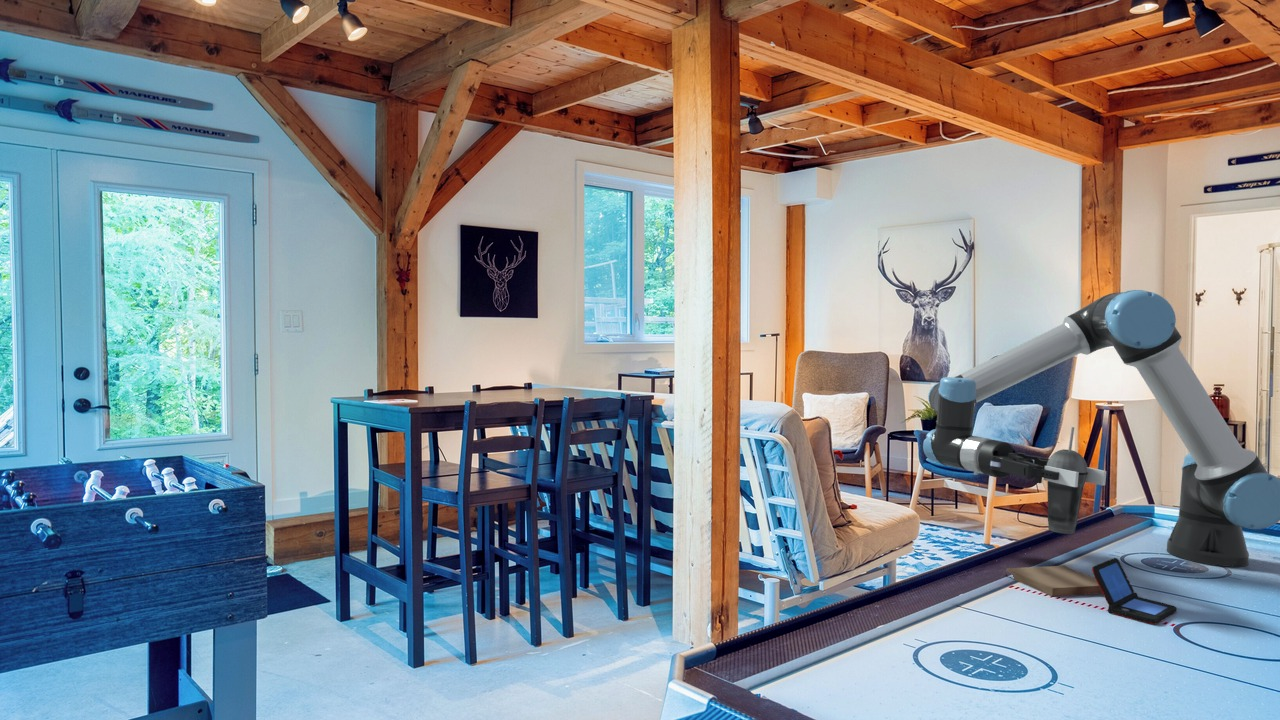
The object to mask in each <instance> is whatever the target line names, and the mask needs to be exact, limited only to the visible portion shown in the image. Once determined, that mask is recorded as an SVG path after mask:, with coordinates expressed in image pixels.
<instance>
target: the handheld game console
mask: <svg viewBox="0 0 1280 720" xmlns="http://www.w3.org/2000/svg"><path fill="white" fill-rule="evenodd" d="M1091 572H1092V574H1093V577H1094V578H1095V579H1096V581H1097V583H1098V585H1099V587H1100V589H1101V591H1102V596H1104V598H1105V601H1106V603H1107V604H1108V608H1107V612H1108V613H1109V614H1111V615H1116V616H1120V617H1122V618H1125V619H1126V618H1127V619H1130V620H1134V621H1138V622H1142V623H1145V624H1148V625H1157V624H1159V623H1160V622H1161V623H1162V621H1164V620H1166V619H1167V618H1169V617H1170V616H1172V615H1174V614H1176V612H1177V611H1178V607H1177V606H1175V605H1173V604H1168V603H1164V602H1162V601H1157V600H1153V599H1149V598H1145V597H1141V596H1138V592H1135V591H1134V590H1135V589H1134V588H1133V586H1132V585H1131V581H1130V580H1129V579H1128V576H1127V574H1126V572H1125V570H1124V568H1123V566H1122V563H1121V562H1120V560H1119V559H1118V558H1116V557H1113V558H1111V559H1109V560H1106V561H1103V562H1101V563H1098V564H1095V565H1093V566H1092V568H1091Z"/></svg>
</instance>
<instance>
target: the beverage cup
mask: <svg viewBox="0 0 1280 720" xmlns="http://www.w3.org/2000/svg"><path fill="white" fill-rule="evenodd" d="M1074 434H1075V427H1074V426H1071V429H1070V436H1069V445H1068V449H1065V448H1064V449H1063V448H1062V449H1059V450H1056V451H1055V452H1054V453H1052V454H1051V455H1050V457H1049V458H1048V459H1049V460H1048V462H1047V466H1051V467H1055V468H1060V469H1065V470H1070V471H1074V472H1079V476H1078V487H1072V486H1067V485H1063V484H1058V483H1054V482H1050V481H1047V522H1048V523H1047V524H1048V531H1051V532H1054V533H1057V534H1065V535H1073V534H1075V533H1076V527H1077V525H1078V524H1077V523H1078V519H1079V512H1080V508H1081V501H1082V496H1083V490H1084V486H1085V483H1086V482H1085V481H1086V478H1087V475H1088V472H1087V467H1088V465H1087V461H1086V460H1085V458H1084V457H1083V456H1082V455H1081V454H1080V453H1079V452H1077V451H1075V450H1072V447H1073V441H1074Z"/></svg>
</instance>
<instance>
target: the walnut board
mask: <svg viewBox="0 0 1280 720" xmlns="http://www.w3.org/2000/svg"><path fill="white" fill-rule="evenodd" d="M1006 571H1007V572H1009V573H1011V574H1012V575H1013V577H1014V579H1015V581H1016V582H1019V583H1022V584H1023V585H1026V586H1028V587H1029V588H1032V589H1035V590H1036V591H1039V592H1041V593H1044V594H1046V595H1048V596H1050V597H1062V596H1063V597H1065V596H1066V597H1067V596H1080V595H1081V596H1082V595H1097V594H1098V595H1099V594H1102V595H1103V593H1102V591H1101V589H1100V587H1099V585H1098V583H1097V581H1096V579H1095V576H1092V575H1090V574H1087V573H1083V572H1081V571H1079V570H1076V569H1073V568H1070V567H1068V566H1066V565H1050V566H1026V567H1007V568H1006V569H1005V572H1006ZM1014 579H1013V580H1014Z"/></svg>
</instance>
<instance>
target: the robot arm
mask: <svg viewBox="0 0 1280 720" xmlns="http://www.w3.org/2000/svg"><path fill="white" fill-rule="evenodd" d="M1176 323H1177V318H1176V313H1175V311H1174V308H1173V307H1172V305H1171V304H1170V302H1169V301H1168V300H1167V299H1166V298H1165V297H1163V296H1161V295H1159V294H1158V293H1155V292H1152V291H1148V290H1143V289H1131V290H1126V291H1122V292H1114V293H1113V292H1111V293H1109V294H1108V293H1107V294H1106V295H1103V296H1101V297H1099V298H1097V299H1096V300H1094V301H1092V302H1091V303H1089V304H1087V305H1086V306H1084V307H1082V308H1081V309H1079V310H1077V311H1075V312H1074V313H1071V314H1069V315H1068V316H1066V317H1065V316H1064V318H1063V321H1062V324H1060V325H1057V326H1055V327H1053V328H1051V329H1049V330H1048V331H1046V332H1044V333H1041V334H1040V335H1038V336H1035V337H1033V338H1031V339H1028V340H1027V341H1025V342H1023V343H1021V344H1019V345H1017V346H1015V347H1013V348H1010V349H1008V350H1007V351H1005V352H1003V353H1001V354H999V355H996V356H995V357H992V358H991V359H988V360H986V361H984V362H983V363H980V364H978V365H976V366H974V367H973V368H970V369H968V370H966V371H964V372H962V373H961V374H959V375H957V376H953V377H952V376H947V377H945V376H944V377H942V378H941V379H940V381H939V382H938V383H936V384H934V385H933V386H932V387H931V388H930V390H929V392H928V396H927V398H928V403H929V406H930V408H931V409H932V410H933V411H934V412H936V415H937V416H936V426H935V429H932V430H930V431H929V432H928V433H927V434H926V435H925V439H924V440H923V444H922V448H923V449H922V450H923V453H924V455H925V456H926V458H927V459H928V460H929V461H931V462H934V463H937V464H940V465H942V466H944V467H951V468H956V469H959V470H965V471H968V472H973V475H974V476H979V475H980V474H981V475H986V476H989V477H994V478H996V479H1004V478H1006V477H1008V476H1009V475H1012V476H1016V477H1020V478H1025V479H1027V480H1033V479H1035V483H1036V484H1042V482H1043V481H1046V482H1048V481H1050V482H1054V483H1058V484H1063V485H1067V486H1072V487H1078V476H1079V472H1074V471H1070V470H1065V469H1060V468H1055V467H1051V466H1047V462H1048V460H1049V458H1047V457H1044V456H1043V457H1042V456H1039V455H1037V454H1036V455H1029V454H1027V453H1024V452H1016V450H1015V448H1014V447H1013V445H1012V444H1010V442H1007V441H1004V440H1003V441H1001V440H996V439H992V438H988V437H983V436H977V435H973V430H974V427H973V426H974V417H975V416H974V415H975V407H976V404H977V403H979V402H981V401H984V400H985V399H987V398H990V397H991V396H994V395H996V394H998V393H1000V392H1001V391H1004V390H1007V389H1008V388H1010V387H1012V386H1015V385H1016V384H1019V383H1021V382H1022V381H1025V380H1028V379H1029V378H1031V377H1034V376H1036V375H1037V374H1040V373H1041V372H1043V371H1046V370H1048V369H1050V368H1053V367H1054V366H1056V365H1059V364H1061V363H1062V362H1065V361H1066V360H1070V359H1071V358H1074V357H1075V356H1077V355H1079V354H1082V355H1086V356H1087V355H1091V354H1092V353H1094V352H1096V351H1099V350H1101V349H1105V348H1109V347H1113V349H1114V350H1115V351H1116V352H1117V354H1118V356H1119V358H1120V359H1121V360H1122V363H1123V364H1125V365H1126V366H1130V367H1134V368H1135V369H1137V371H1138V372H1139V374H1140V376H1141V378H1142V379H1143V380H1144V382H1145V385H1147V387H1148V389H1149V390H1150V392H1151V394H1152V395H1153V397H1154V398H1155V399H1156V401H1157V403H1158V405H1159V406H1160V407H1161V409H1162V412H1163V413H1164V414H1165V416H1166V417H1167V419H1168V421H1169V422H1170V423H1171V426H1172V427H1173V429H1174V430H1175V431H1176V433H1177V435H1178V437H1179V438H1180V440H1181V441H1182V443H1183V444H1184V446H1185V447H1186V449H1187V450H1188V452H1189V453H1188V454H1186V455H1185V457H1184V458H1183V463H1182V467H1181V471H1182V473H1181V482H1180V483H1181V484H1180V494H1179V495H1180V499H1179V508H1178V509H1179V511H1178V518H1177V521H1176V522H1175V525H1174V526H1173V529H1172V531H1171V534H1170V536H1169V538H1168V539H1167V543H1166V551H1167V553H1169V554H1171V555H1173V556H1176V557H1178V558H1181V559H1184V560H1187V561H1192V562H1197V563H1201V564H1206V565H1211V566H1212V565H1213V566H1223V567H1230V568H1231V567H1233V568H1235V567H1237V568H1238V567H1239V568H1240V567H1246V566H1248V565H1249V561H1250V560H1249V559H1250V554H1249V551H1248V548H1247V543H1246V539H1245V535H1244V531H1243V528H1246V529H1248V530H1249V529H1251V530H1262V529H1267V528H1270V527H1272V526H1275V525H1276V524H1278V523H1279V522H1280V479H1279V478H1277V476H1275V475H1274V474H1272V473H1269V472H1268V470H1266V467H1265V466H1264V464H1263V463H1262V461H1261V460H1260V458H1259V457H1258V455H1257V453H1256V452H1255V451H1253V450H1250V449H1246V448H1243V447H1242V446H1241V444H1240V443H1239V441H1238V440H1237V437H1236V436H1235V435H1234V433H1233V431H1232V430H1231V428H1230V426H1229V425H1228V424H1227V422H1226V420H1225V419H1224V417H1223V416H1222V414H1221V413H1220V411H1219V409H1218V408H1217V406H1216V405H1215V403H1214V401H1213V400H1212V398H1211V396H1210V395H1209V393H1208V392H1207V390H1206V388H1205V387H1204V386H1203V384H1202V383H1201V381H1200V380H1199V378H1198V376H1197V375H1196V373H1195V371H1194V369H1193V368H1192V367H1191V365H1190V364H1189V362H1188V360H1187V358H1186V357H1185V355H1184V354H1183V352H1182V351H1181V350H1180V345H1181V342H1182V339H1183V337H1182V336H1181V334H1180V332H1179V331H1178V329H1177V327H1176ZM1087 472H1088V475H1087V478H1086V481H1085V483H1089V484H1094V485H1098V486H1102V487H1103V486H1106V483H1107V482H1106V480H1107V479H1106V478H1107V470H1102V469H1098V468H1093V467H1088V466H1087Z"/></svg>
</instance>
